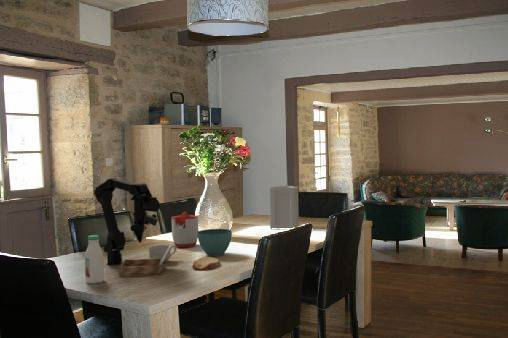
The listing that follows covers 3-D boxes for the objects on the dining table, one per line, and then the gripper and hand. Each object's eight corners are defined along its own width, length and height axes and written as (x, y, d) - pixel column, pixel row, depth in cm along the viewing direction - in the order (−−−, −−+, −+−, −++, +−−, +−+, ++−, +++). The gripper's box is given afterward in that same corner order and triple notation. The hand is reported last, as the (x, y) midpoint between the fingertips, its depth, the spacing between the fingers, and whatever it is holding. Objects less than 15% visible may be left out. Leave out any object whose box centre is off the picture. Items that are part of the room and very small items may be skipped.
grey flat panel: (169, 247, 244) (170, 248, 244) (172, 241, 259) (172, 241, 259) (159, 264, 244) (160, 265, 244) (162, 257, 259) (163, 258, 259)
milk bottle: (106, 279, 237) (104, 234, 236) (101, 283, 230) (100, 237, 229) (88, 279, 237) (86, 234, 236) (83, 284, 230) (81, 237, 229)
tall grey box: (303, 226, 370) (302, 186, 368) (296, 230, 356) (296, 187, 355) (277, 225, 377) (276, 185, 376) (269, 229, 363) (268, 187, 362)
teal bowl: (227, 258, 274) (226, 234, 273) (193, 258, 277) (192, 234, 277) (235, 251, 291) (235, 228, 291) (203, 250, 295) (202, 228, 294)
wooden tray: (119, 276, 242) (119, 267, 242) (125, 267, 258) (124, 259, 258) (159, 274, 244) (159, 265, 243) (163, 266, 259) (162, 258, 259)
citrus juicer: (166, 249, 302) (165, 213, 301) (177, 243, 319) (176, 209, 318) (192, 249, 299) (191, 213, 298) (203, 243, 315) (202, 209, 314)
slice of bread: (211, 260, 273) (211, 252, 272) (231, 266, 258) (231, 258, 258) (179, 265, 262) (179, 258, 262) (198, 272, 247) (198, 264, 247)
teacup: (149, 265, 263) (149, 248, 263) (148, 260, 274) (147, 244, 273) (178, 262, 267) (178, 246, 267) (175, 258, 277) (175, 242, 277)
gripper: (154, 212, 248) (155, 246, 249) (159, 207, 267) (159, 238, 268) (130, 213, 248) (130, 246, 249) (136, 207, 266) (136, 238, 267)
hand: (140, 242), depth 258 cm, fingers closed
